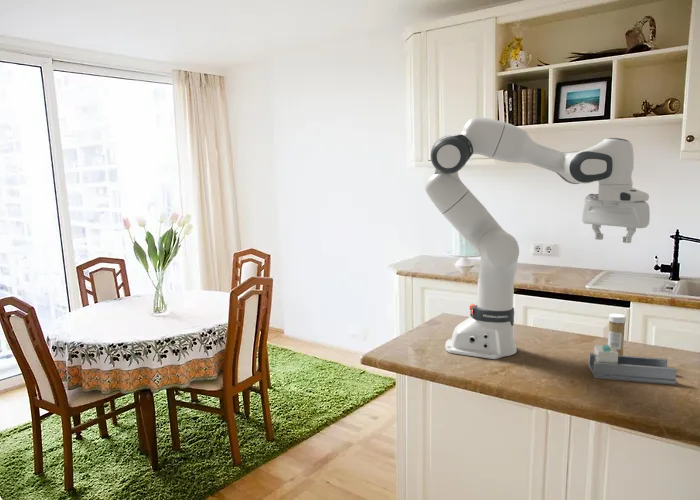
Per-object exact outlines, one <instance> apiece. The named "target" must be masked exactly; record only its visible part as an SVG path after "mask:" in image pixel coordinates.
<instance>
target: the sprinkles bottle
mask: <svg viewBox="0 0 700 500" xmlns="http://www.w3.org/2000/svg"><path fill="white" fill-rule="evenodd" d="M626 319H627V316H626V315H624V314H620V313H610V314H609V315H608V322H609V323H608V336H607V345H609V346H614V348H615V349H616V350H617V352H618V355H622V356H624V348H625V347H624V346H625V325H626Z"/></svg>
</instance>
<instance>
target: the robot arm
mask: <svg viewBox="0 0 700 500" xmlns="http://www.w3.org/2000/svg"><path fill="white" fill-rule="evenodd" d="M473 155H480V156H484V157H487V158H490V159H492V160H493V159H494V160H495V161H496V160H497V161H501V162H506V163H516V164H517V163H518V164H520V163H521V164H530V165H534V166H536V167H539V168H542V169H545V170H548V171H552V172H553V173H556V174H557V175H558V176H559V177H560V178H561V179H562V180H564V182H567V183H568V184H572V185H578V184H583V185H584V184H590V183H593V182H598V193H590V194H588V195H587V196H586V197H585V199H584V205H583V208H582V215H581V221H582V222H583V224H584V225H587V224H588V225H592V226H591V227H592V228H591V229H592V230H593V232H594V235H595V236H594V239H595V240H598V241H599V240H600V241H601V240H603V239H604V233H602V232H601V227H602V226H608V227H609V226H610V227H621V228H626V235H625V236H622V243H624V244H631V243H632V237H633V236H634V235H635V234H636V232H637V229H645V228H647V227H648V226H649V225H650V220H651V218H650V215H651V213H650V212H651V211H650V205H649V203H648V201H649V198H650V195H649V193H647V192H644V191H641V190H639V189H637V188H634V187H633V185H634V184H633V180H632V174H633V171H634V163H635V162H634V160H635V159H634V157H635V156H634V146H633V144H632V142H631V141H630V140H627V139H624V138H619V137H606V138H603V140H601V141H600V142H598V143H597V144H595V145H593V146H590V147H589V148H586V149H583V150H581V151H579V150H578V151H569V152H566V151H565V152H564V151H559V150H557V149H554V148H550V147H547V146H544V145H542V144H539V143H537V142H536V141H534V140H533V139H532V138H531V136H530V135H529V134H528V132H527V131H526V130H524V129H522V128H520V127H518V126H516V125H514V124H512V123H509V122H506V121H505V122H504V121H501V120H498V119H493V118H487V117H480V116H479V117H478V116H475V117H472V118H470V119H468V121H466V123H465V124H464V125H463V127H462V130H461V132H460V133H459V134H455V135H445V136H441V137H440V138H438V139H437V140H436V141H435V142H434V143H433V145H432V147H431V150H430V161H431V164H432V165H433V167H434V172H433V173H432V174H431V175H430V176H429V177H428V179H426V183H425V186H424V188H425V191H426V192H425V193H427V195H428V197H429V198H430V200H431V201H432V203H433V205H434V206H435V207H436V208H437V210H438V211H439V212H440V213H441V214H442V215H443V216H444V217H445V219H446V220H447V221H448V222H449V223H450V224H451V225H452V227H453V228H454V229H455V230H456V231H457V232H458V233H459V234H460V235H461V236H462V238H464V240H466V242H467V243H468V244H469V245H470V246H471V247H472V248H473V249H474V251H476V253H477V254H478V255H479V256H480V264H479V265H480V266H479V273H478V279H477V296H476V299H477V300H476V302H477V303H476V305H475V303H471V304H470V305H469V311H470V313H469V315H470V316H469V317H467V318H466V319H465V320H463V321H462V322H460V323H459V324H457V325H456V326H455V328H454V329H453V332H452V335H451V336H452V337H449V338H448V339H447V340H446V342H445V343H444V344H445V345H444V349H445V350H446V352H448V353H450V354H456V355H463V356H469V357H478V358H484V359H492V360H499V359H500V358H503V357H509V356H512V355H514V354H516V353H517V352H518V351H517V346H516V341H515V335H514V324H515V308H514V285H515V278H516V272H517V267H518V262H519V261H518V260H519V256H520V247H519V243H518V241H517V239H516V238H515V237H514V236H513V235H512V234H510V233H508V232H507V231H506V230H504V228H502V226H501V225H500V224H499V223H498V221H496V219H495V218H494V217H493V216H492V214H491V213H490V212H489V210H488V209H487V208H486V207H485V205H483V203H481V201H479V199H478V198H477V197H476V196H475V195H474V193H473V192H471V190H470V189H469V188H468V187H467V186H466V185H465V184H464V183H463V181H462V180H461V179H460V177H459V171H460V170H462V169H463V168H464V167H465V165H466V164H467V162H468V161H469V159H470V158H471V157H472V156H473Z"/></svg>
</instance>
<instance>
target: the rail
mask: <svg viewBox="0 0 700 500" xmlns="http://www.w3.org/2000/svg"><path fill="white" fill-rule="evenodd" d="M593 348H594V351H593V353H591V352H590V353H589V355H588V364H587V365H588V366H587V367H588V368H589V370H590V372H591V373H592V376H593V378H594V379H600V380H611V381H612V380H613V381H614V380H615V381H627V382H636V383H650V384H660V385H663V384H664V385H672V386H673V385H675V386H677V380H676V377H677V369H676V367H668V359H667V358H665V357H664V358H663V357H662V358H661V357H648V356H633V355H623V356H622V355H618V352H617V350H616V349H615V348H614V346H609V345H608V344H602V345H601V344H600V345H599V344H594V347H593Z"/></svg>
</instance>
